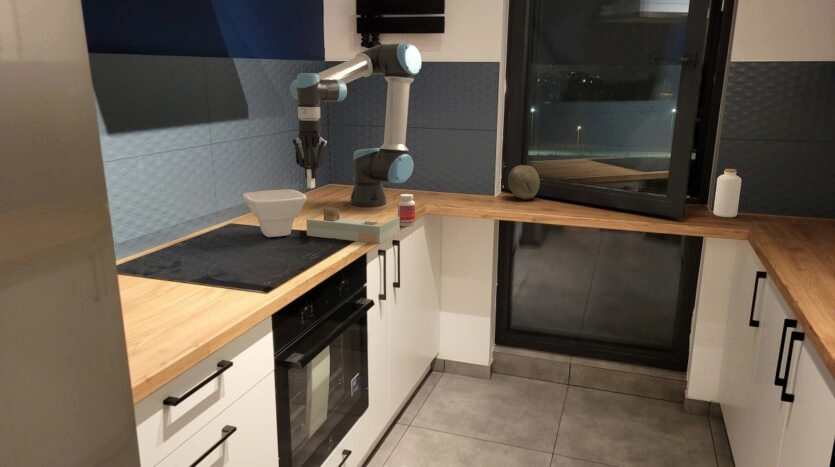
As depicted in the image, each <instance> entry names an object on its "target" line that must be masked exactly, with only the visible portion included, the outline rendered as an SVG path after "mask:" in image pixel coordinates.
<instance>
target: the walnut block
mask: <svg viewBox="0 0 835 467" xmlns="http://www.w3.org/2000/svg"><path fill="white" fill-rule="evenodd" d="M339 218H340V208H339V207H330V206H329V207H326V208H324V209H323V220H324V221H333V222H334V221H336V220H339Z"/></svg>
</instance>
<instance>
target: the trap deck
mask: <svg viewBox="0 0 835 467" xmlns="http://www.w3.org/2000/svg"><path fill="white" fill-rule="evenodd" d="M400 228H401V226H400V217H398V216H395V217H393V218H391V219H388V221H385V222H384V221H374V220H373V221H372V220H361V219H351V218H341V217H339V220H336V221H334V222H333V221H324V219H312V218H307V219H306V236H308V237H318V238H327V239H334V238H335V239H336V240H345V241H355V242H360V243H361V242H364V243H372V244H382V243H383V242H385V241H387V240H388V239H390V238H392V237H394V236H396V235H397V234H399V233H400V232H401V231H400Z"/></svg>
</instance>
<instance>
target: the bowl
mask: <svg viewBox="0 0 835 467" xmlns="http://www.w3.org/2000/svg"><path fill="white" fill-rule="evenodd" d="M242 198H243V199H244V201H245V203H246V204H247V206H248V208H249V210H250V211H251V213H252V215H253V216H254V217H255V218H256V219H257V221H258V223H259V227H260V230H261V232H262V233H261V234H263V235H264V236H265V237H267V238H274V237H283V236H285V237H286V236H289V235H291V233H292V228H293V225H294V220H295V218H297V217H298V216H299V214H300V213H301V211H302V209H303V207H304V205H305V202H306V201H307V195H306V194H304V193H302V192H300V191H299V190H296V189H292V188H291V189H290V188H287V189H286V188H285V189H283V188H282V189H272V190H271V189H268V190H267V189H266V190H260V191H259V190H258V191H250V192H249V191H248V192H243V194H242Z"/></svg>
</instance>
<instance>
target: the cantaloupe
mask: <svg viewBox="0 0 835 467" xmlns="http://www.w3.org/2000/svg"><path fill="white" fill-rule="evenodd" d="M540 184H541V180H540V176H539V173H538V171H537V170H536V168H534V166H532V165H523V164H520V165H516V166H515V167H513V168H512V169H511V171H510V172H509V174H508V179H507V186H508V188H509V191H511V193H512V194H513V195H514V196H515V197H517V198H519V199H520V200H523V201H529V200H530V199H532V198H534V197H535V196H536V195H537V193H538V191H539V189H540Z"/></svg>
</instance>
